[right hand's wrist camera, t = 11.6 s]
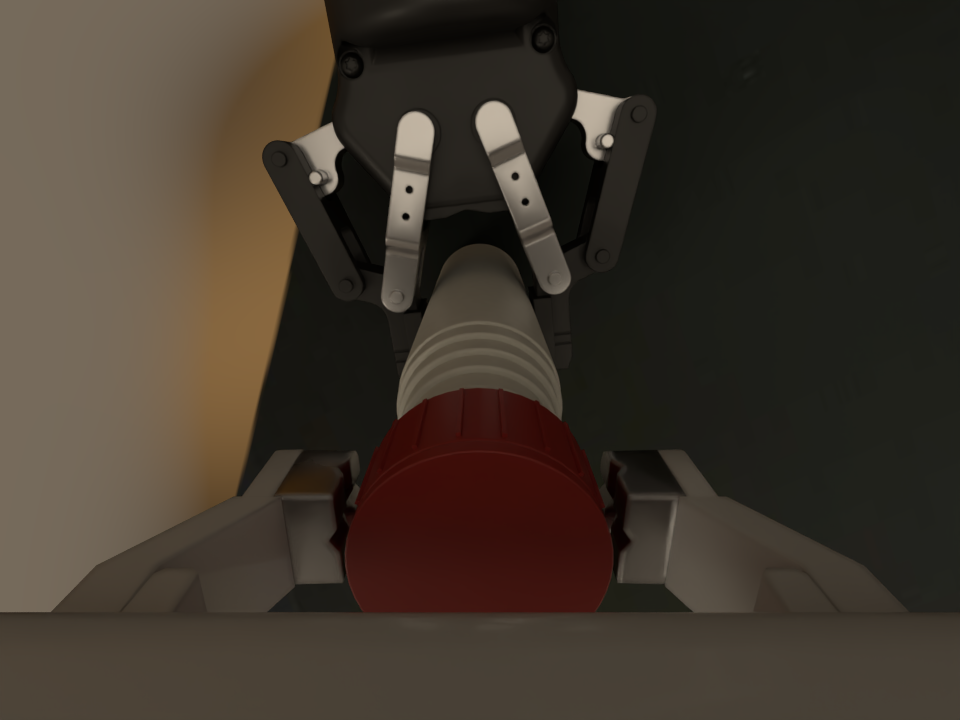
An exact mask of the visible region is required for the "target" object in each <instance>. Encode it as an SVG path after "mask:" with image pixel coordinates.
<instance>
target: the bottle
mask: <svg viewBox="0 0 960 720" xmlns="http://www.w3.org/2000/svg"><path fill="white" fill-rule="evenodd" d="M459 388H464V389H470V388H490V389H499V388H500V389H503V390H504V391H508V392H512V393H515V394H519V395H522V396H524V397H526V398H529V399H531V400H533V401H535V400H537V401H539V403H540V405H542V406H544V407H545V408H547V409H548V410H549V411H551V412H552V413H553V414H554V415H556V416H557V417H558V418H559V419H560V420H561V418H562V396H561V389H560V382H559V377H558V374H557V371H556V368H555V365H554V363H553V360H552V357H551V355H550V352H549V350H548V347H547V344H546V342H545V339H544V336H543V334H542V331H541V328H540V326H539V323H538V321H537V318H536V315H535V313H534V310H533V307H532V305H531V302H530V299H529V297H528V294H527V292H526V289H525V286H524V284H523V281H522V278H521V276H520V273H519V270H518V268H517V266H516V264H515V263H514V261H513V260H512V258H511V257H510V256H509V255H508V254H507V253H505V252H504V251H502V250H501V249H499V248H497V247H495V246H492V245H488V244H472V245H468V246H465V247H463V248H461V249H459V250H457V251H456V252H454V253H453V254H452V255H451V256H450V257H449V258H448V259H447V261H446V262H445V264H444V265H443V268H442V270H441V272H440V275H439V277H438V280H437V283H436V285H435V288H434V290H433V293H432V296H431V298H430V301H429V303H428V306H427V309H426V311H425V314H424V316H423V319H422V322H421V324H420V327H419V329H418V332H417V335H416V337H415V340H414V342H413V345H412V348H411V350H410V353H409V356H408V358H407V361H406V363H405V366H404V369H403V371H402V375H401V378H400V383H399V391H398V397H397V416H398V419H400V418H401V417H402V416H403V415H404V414H405V413H407V412H408V411H409V410H411V409H412V408H414V407H415V406H417V405H418V404H420V403H422V401H423V400H424V399H426V398H427V400H428V399H430V398H432V397H434V396H437V395H440V394H443V393H446V392H450V391H455V390H459Z"/></svg>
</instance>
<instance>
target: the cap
mask: <svg viewBox="0 0 960 720" xmlns="http://www.w3.org/2000/svg"><path fill="white" fill-rule="evenodd" d="M355 504H356V505H358V506H357V509H356V512H355V515H354V517H353V520H352V523H351V525H350V529H349V532H348V535H347V540H346V548H345V567H346V573H347V577H348V582H349V585H350V587H351V590H352V593H353V595H354V597H355V599H356V601H357V602H358V604H359V606H360V608H361V609H362V611H363V612H595V611H596V610H597V608H598V607H599V606H600V604H601V602H602V600H603V598H604V596H605V594H606V592H607V589H608V586H609V583H610V580H611V575H612V569H613V544H612V538H611V534H610V531H609V528H608V525H607V522H606V519H605V516H604V514H603V511H602V508H605V505H604V502H603V499H602V497H601V494H600V491H599V488H598V486H597V483H596V480H595V478H594V475H593V472H592V470H591V467H590V464H589V461H588V459H587V456H586V453H585V451H584V450H581V449H580V447H579V445H578V443H577V441H576V439H575V437H574V436H573V435H572V433H571V432H570V429H569V427H568V424H567V423H566V422H562V421H561V420H560V419H559V418H558V417H557V416H556V415H554V414H553V413H552V412H551V411H549V410H548V409H547V408H545V407H544V406H542V405H540V403H539V401H537V400H535V401H533V400H531V399H529V398H526V397H524V396H522V395H519V394H515V393H512V392H508V391H504V390H503V389H500V388H499V389H490V388H470V389H464V388H459V390H455V391H450V392H446V393H443V394H440V395H437V396H434V397H432V398H430V399H428V400H427V398H426V399H424V400H423V401H422V403H420V404H418V405H417V406H415V407H414V408H412V409H411V410H409V411H408V412H407V413H405V414H404V415H403V416H402V417H401V418H400V419H398V420H397V419H395V420H394V421H393V424H392V427H391V429H390V430H389V431H388V433H387V434H386V436H385V437H384V439H383V441H382V443H381V445H380V447H376V448H375V450H374V453H373V456H372V458H371V461H370V464H369V466H368V469H367V472H366V474H365V477H364V480H363V482H362V485H361V488H360V490H359V493H358V496H357V498H356V501H355Z"/></svg>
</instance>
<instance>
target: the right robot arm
mask: <svg viewBox="0 0 960 720" xmlns="http://www.w3.org/2000/svg"><path fill="white" fill-rule="evenodd" d="M600 472H601V475H602V478H603V480H604V485H603V486H602V487H601V488H600V489H599V491H600V494H601V497H602V499H603V502H604V505H605V508H602V511H603V514H604V516H605V519H606V522H607V525H608V528H609V531H610V534H611V538H612V544H613V571H614V574H615V577H616V580H617V583H643V584H665V587H667V588H668V589H669V590H670V591H671V592H672V593H673V594H674V595H675V596H676V597H677V598H679V599H680V600H681V601H682V602H683V603H684V604H685V605H686V606H687V607H688V608H690V609H691V610H692V611H693V612H267V611H269V610H270V609H271V608H272V607H273V606H274V605H275V604H276V603H277V602H278V601H280V600H281V599H282V598H283V597H284V596H285V595H286V594H287V593H288V592H289V591H291V590H292V589H293V588H294V587H295V585H294V584H316V583H343V581H344V578H345V575H346V567H345V548H346V540H347V535H348V532H349V529H350V525H351V523H352V520H353V517H354V515H355V512H356V509H357V506H358V505H356V504H355V501H356V498H357V496H358V493H359V490H360V488H359V487H358V486H357V485H356V480H357V478H358V475H359V473H360V466H359V458H358V454H357V452H356V451H337V450H303V449H299V450H278V451H275V452H274V454H273V455H272V456H271V458H270V459H269V460H268V462H267V463H266V464H265V466H264V467H263V469H262V470H261V471H260V473H259V474H258V475H257V477H256V478H255V479H254V481H253V482H252V483H251V485H250V486H249V488H248V489H247V490H246V492H245V493H244V494H243V496H242V497H232V498H230V499H228V500H226V501H224V502H222V503H220V504H218V505H216V506H214V507H212V508H210V509H208V510H206V511H204V512H202V513H200V514H198V515H196V516H194V517H192V518H190V519H188V520H186V521H184V522H182V523H180V524H178V525H176V526H174V527H172V528H170V529H168V530H166V531H164V532H162V533H160V534H158V535H156V536H154V537H152V538H150V539H148V540H146V541H144V542H142V543H140V544H138V545H136V546H134V547H132V548H130V549H128V550H126V551H124V552H122V553H120V554H118V555H116V556H114V557H112V558H110V559H108V560H106V561H104V562H102V563H100V564H98V565H97V566H95V568H93V570H92V571H91V572H90V573H89V574H88V575H87V576H86V577H85V578H84V579H83V580H82V581H81V582H80V583H79V584H78V585H77V586H76V587H75V588H74V589H73V590H72V591H71V592H70V593H69V594H68V595H67V596H66V597H65V598H64V599H63V600H62V601H61V602H60V603H59V604H58V605H57V606H56V607H55V609H54V610H53V611H52V612H0V720H960V612H909V611H908V610H907V609H906V608H905V607H904V606H903V605H902V604H901V603H900V602H899V601H898V600H897V599H896V598H895V597H894V596H893V595H892V594H891V593H890V592H889V591H888V590H887V589H886V588H885V587H884V586H883V585H882V584H881V582H880V581H879V580H878V579H877V578H876V577H875V576H874V575H873V574H872V573H871V572H870V571H869V570H868V569H867V568H866V567H865V566H863V565H861V564H859V563H857V562H855V561H853V560H851V559H849V558H847V557H845V556H843V555H841V554H839V553H837V552H835V551H833V550H832V549H830V548H828V547H826V546H824V545H822V544H820V543H818V542H816V541H814V540H812V539H810V538H808V537H806V536H804V535H802V534H800V533H798V532H796V531H794V530H792V529H790V528H788V527H786V526H784V525H782V524H780V523H778V522H776V521H774V520H772V519H770V518H768V517H766V516H764V515H762V514H760V513H758V512H756V511H754V510H752V509H750V508H748V507H746V506H744V505H742V504H740V503H738V502H736V501H734V500H732V499H730V498H728V497H718V496H717V494H716V493H715V492H714V490H713V489H712V488H711V486H710V485H709V483H708V482H707V481H706V479H705V478H704V477H703V475H702V474H701V473H700V471H699V470H698V469H697V467H696V466H695V465H694V463H693V462H692V461H691V459H690V458H689V457H688V455H687V454H686V453H685V451H683V450H680V449H674V450H637V451H606V452H603V454H602V458H601V465H600Z"/></svg>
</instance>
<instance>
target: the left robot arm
mask: <svg viewBox="0 0 960 720" xmlns="http://www.w3.org/2000/svg"><path fill="white" fill-rule="evenodd" d="M324 1H325V6H326V12H327V17H328V22H329V27H330V33H331V38H332V43H333V49H334V54H335V59H336V64H337V70H338V92H337V97H336V101H335V104H334V107H333V111H332V122H331V123H329V124H327V125H325V126H323V127H321V128H319V129H317V130H315V131H313V132H311V133H309V134H307V135H305V136H303V137H301V138H299V139H297V140H295V141H293V142H286V141H278V140H277V141H272V142H270V143H268V144H267V145H266V147H265V148H264V150H263V154H262V159H263V163H264V166H265V168H266V170H267V172H268V174H269V175H270V177H271V179H272V181H273V183H274V185H275V186H276V188H277V190H278V192H279V194H280V196H281V198H282V199H283V201H284V203H285V205H286V207H287V209H288V211H289V212H290V214H291V216H292V218H293V220H294V222H295V223H296V225H297V227H298V229H299V231H300V233H301V235H302V236H303V238H304V240H305V242H306V244H307V246H308V248H309V249H310V251H311V253H312V255H313V257H314V259H315V260H316V262H317V264H318V266H319V268H320V270H321V272H322V273H323V275H324V277H325V279H326V281H327V283H328V285H329V286H330V288H331V290H332V292H333V293H334V295H335V296H336V297H337V298H339V299H341V300H343V301H353V300H355V299H356V300H360V301H364V302H369V303H373V304H375V305H377V306H379V307H380V308H381V309H383V311H384V312H385V313H386V315H387V318H388V322H389V328H390V333H391V338H392V344H393V349H394V354H395V360H396V365H397V371H398V375H399V377H400V378H401V375H402V371H403V369H404V366H405V363H406V361H407V358H408V356H409V353H410V350H411V348H412V345H413V342H414V340H415V337H416V335H417V332H418V329H419V327H420V324H421V322H422V319H423V316H424V314H425V311H426V309H427V306H428V305H427V298H425V299H421V297H420V290H419V288H420V282H421V276H422V269H423V262H424V255H425V248H426V244H427V239H428V234H429V227H430V220H434V219H442V218H447V217H449V216H451V215H454V214H456V213H459V212H461V211H463V210H473V211H480V212H486V213H491V212H500V211H508V213H509V215H510V217H511V220H512V222H513V225H514V227H515V229H516V232H517V234H518V236H519V239H520V241H521V244H522V246H523V249H524V251H525V254H526V256H527V258H528V261H529V263H530V266H531V268H532V275H533V286H532V287H528V288H529V299H530V302H531V305H532V307H533V310H534V313H535V315H536V318H537V321H538V323H539V326H540V328H541V331H542V334H543V336H544V339H545V342H546V344H547V347H548V350H549V352H550V355H551V357H552V360H553V363H554V365H555V368H556V371H557V369H566V368H568V367H569V364H570V361H571V358H572V344H571V327H570V310H569V294H570V291H571V289H572V287H573V286H574V284H575V283H576V282H578V281H579V280H581V279H583V278H585V277H587V276H589V275H591V274H593V273H595V272H599V273H603V272H607V271H609V270H611V269H612V268H613V267H614V266H615V265H616V263H617V261H618V259H619V255H620V251H621V247H622V244H623V240H624V236H625V232H626V228H627V225H628V221H629V217H630V213H631V210H632V206H633V202H634V198H635V195H636V191H637V187H638V183H639V180H640V176H641V172H642V168H643V165H644V161H645V157H646V153H647V150H648V146H649V142H650V138H651V135H652V131H653V127H654V123H655V120H656V115H657V109H656V105H655V103H654V101H653V100H652V99H651V98H650V97H649V96H647V95H643V94H638V95H634V96H631V97H628V98H625V99H623V98H617V97H612V96H607V95H602V94H597V93H592V92H587V91H582V90H577V85H576V82H575V79H574V77H573V75H572V73H571V72H570V70H569V69H568V67H567V65H566V63H565V61H564V58H563V55H562V52H561V48H560V42H559V29H558V11H557V0H324ZM570 121H571V122H573V123H574V124H576V125H577V127H578V128H579V130H580V132H581V148H582V152H583V154H584V155H585V156H586V157H587V158H588V159H590V160H593V161H594V165H593V170H592V174H591V178H590V182H589V187H588V191H587V195H586V199H585V204H584V208H583V212H582V216H581V221H580V225H579V229H578V233H577V238H576V239H575V240H573V241H571V242H569V243H567V244H565V245H563V246H561V247H560V245H559V242H558V239H557V237H556V234H555V231H554V228H553V224H552V220H551V218H550V215H549V212H548V210H547V207H546V205H545V202H544V199H543V197H542V194H541V191H540V189H539V186H538V184H537V179H538V177H539V175H540V173H541V172H542V170H543V168H544V166H545V165H546V163H547V161H548V159H549V158H550V156H551V154H552V152H553V150H554V149H555V147H556V145H557V143H558V142H559V140H560V138H561V136H562V134H563V133H564V131H565V129H566V127H567V126H568V124H569V122H570ZM347 151H348V152H349V153H350V154H351V155H352V156H353V157H354V158H355V159H356V160H357V161H358V162H359V164H360V165H361V166H362V167H363V168H364V169H365V170H366V171H367V172H368V173H369V174H370V175H371V176H372V177H373V178H374V180H375V181H376V182H377V183H378V184H379V185H380V186H381V187H382V188H383V189H384V190H385V191H386V192H387V193H388V194H389V196H390V205H389V213H388V222H387V230H386V240H385V246H386V257H385V266H384V267H383V266H379V265H375V264H372V263H371V262H370V260H369V258H368V256H367V254H366V252H365V250H364V248H363V246H362V244H361V242H360V240H359V238H358V236H357V234H356V232H355V230H354V228H353V226H352V224H351V222H350V220H349V218H348V216H347V214H346V212H345V210H344V208H343V206H342V204H341V202H340V200H339V198H338V196H337V194H336V193H337V192H338V191H339V190H340V189H341V188H342V186H343V184H344V174H343V171H342V167H341V161H342V157H343V155H344V154H345V152H347Z"/></svg>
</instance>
